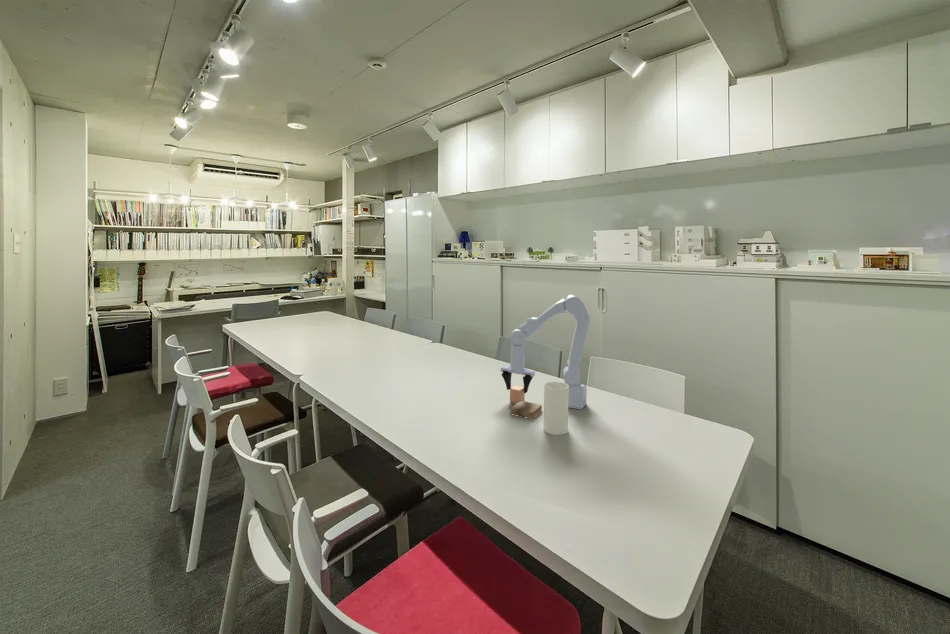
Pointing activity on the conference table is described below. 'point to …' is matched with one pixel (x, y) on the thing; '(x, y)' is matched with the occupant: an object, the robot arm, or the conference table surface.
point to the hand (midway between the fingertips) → (517, 390)
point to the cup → (556, 408)
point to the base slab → (526, 409)
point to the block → (517, 394)
